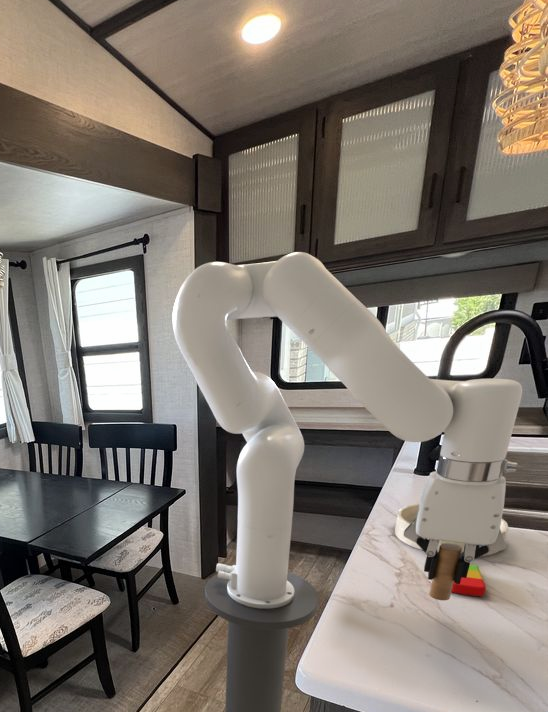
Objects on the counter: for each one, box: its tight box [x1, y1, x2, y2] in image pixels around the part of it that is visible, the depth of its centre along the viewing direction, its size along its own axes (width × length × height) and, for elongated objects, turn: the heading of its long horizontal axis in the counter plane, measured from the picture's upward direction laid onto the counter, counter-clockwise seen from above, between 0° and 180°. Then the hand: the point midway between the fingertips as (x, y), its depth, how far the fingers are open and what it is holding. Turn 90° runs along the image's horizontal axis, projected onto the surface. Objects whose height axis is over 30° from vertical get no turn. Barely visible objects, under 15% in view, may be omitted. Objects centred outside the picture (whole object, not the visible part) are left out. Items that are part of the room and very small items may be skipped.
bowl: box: [394, 503, 509, 558], centre depth 102 cm, size 19×19×4 cm
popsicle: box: [451, 564, 487, 597], centre depth 88 cm, size 6×15×2 cm, turn 152°
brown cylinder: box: [428, 543, 462, 601], centre depth 75 cm, size 3×3×9 cm
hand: (443, 577), depth 75 cm, fingers closed on brown cylinder, 2 cm apart
